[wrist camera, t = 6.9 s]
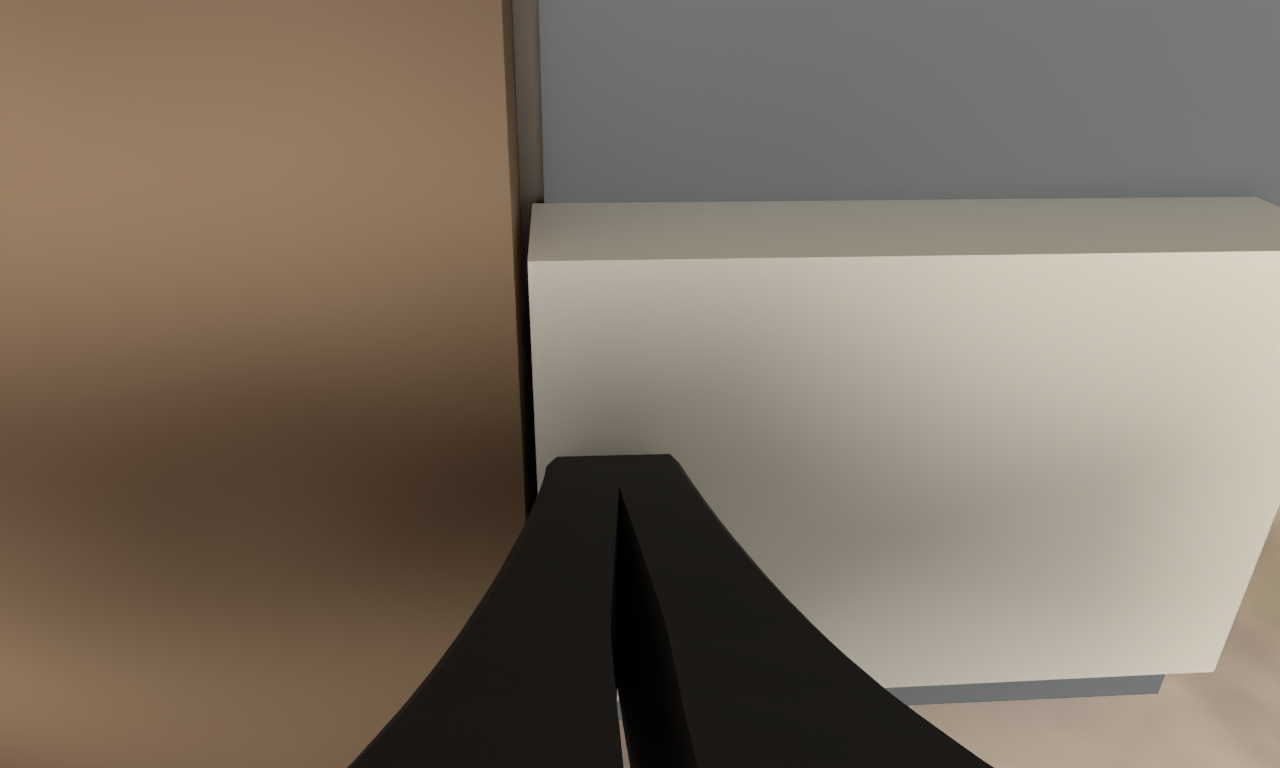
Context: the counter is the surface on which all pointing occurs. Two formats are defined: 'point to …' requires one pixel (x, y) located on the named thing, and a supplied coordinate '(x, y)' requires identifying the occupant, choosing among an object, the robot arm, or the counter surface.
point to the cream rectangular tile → (942, 411)
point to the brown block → (251, 369)
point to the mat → (912, 119)
